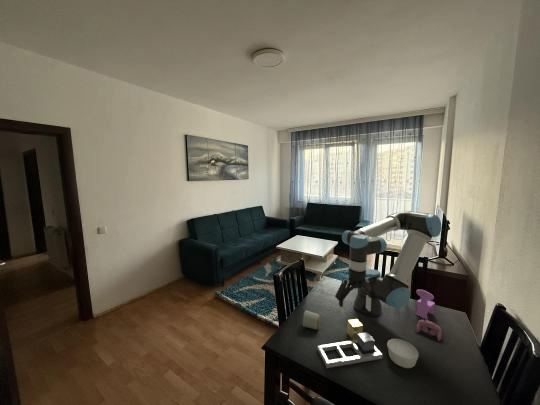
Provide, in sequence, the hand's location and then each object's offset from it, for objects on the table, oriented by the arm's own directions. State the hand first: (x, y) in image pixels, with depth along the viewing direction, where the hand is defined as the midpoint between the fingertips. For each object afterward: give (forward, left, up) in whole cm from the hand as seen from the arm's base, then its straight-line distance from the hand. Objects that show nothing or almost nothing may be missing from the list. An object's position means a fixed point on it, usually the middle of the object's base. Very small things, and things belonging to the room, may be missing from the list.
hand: (355, 311), depth 104 cm
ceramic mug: (+17, -12, -13) cm, 25 cm away
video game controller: (-37, +5, -13) cm, 39 cm away
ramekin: (-12, +16, -13) cm, 24 cm away
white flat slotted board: (+8, +9, -13) cm, 18 cm away
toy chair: (-48, -8, -13) cm, 51 cm away
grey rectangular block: (0, +9, -13) cm, 16 cm away
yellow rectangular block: (0, 0, -13) cm, 13 cm away
